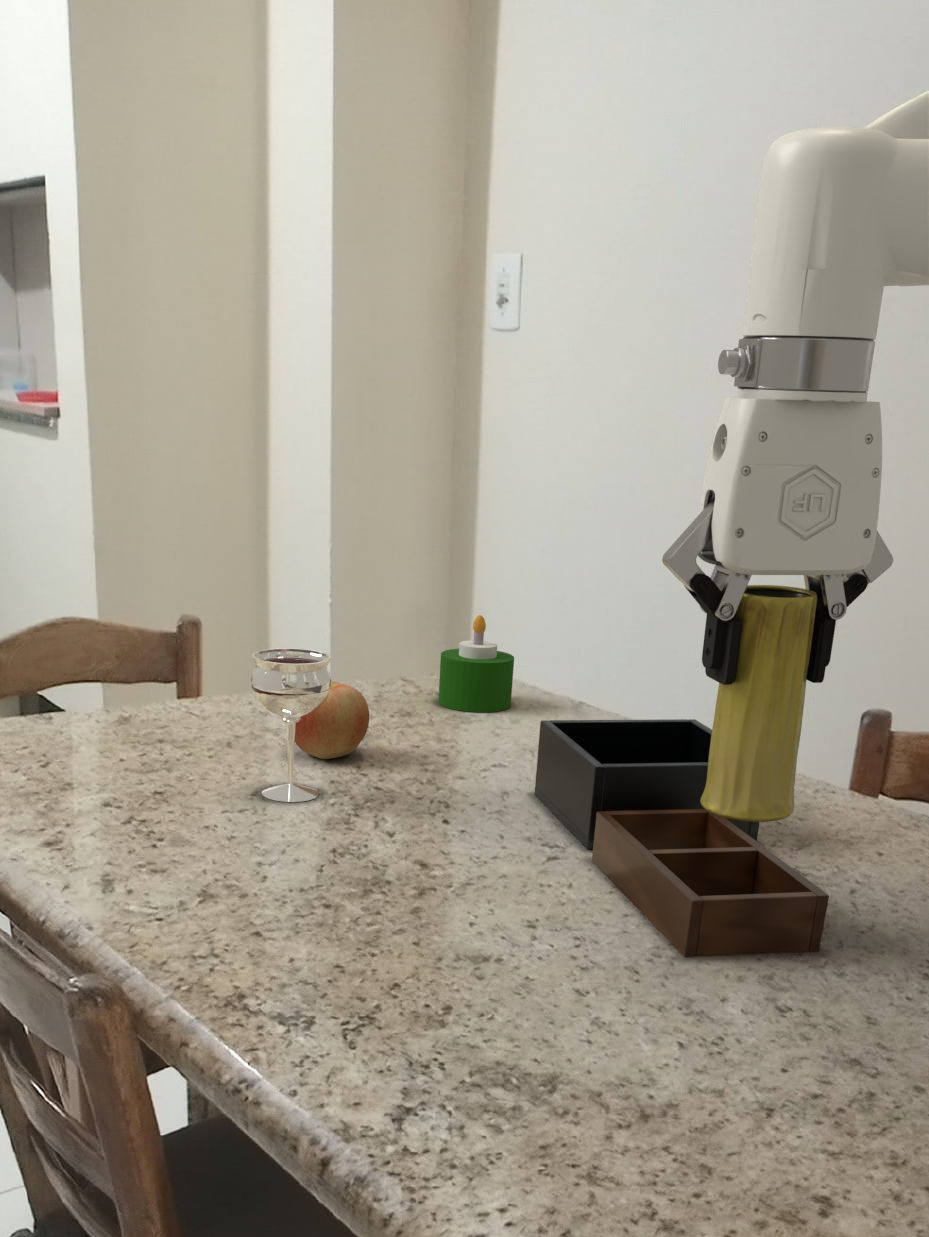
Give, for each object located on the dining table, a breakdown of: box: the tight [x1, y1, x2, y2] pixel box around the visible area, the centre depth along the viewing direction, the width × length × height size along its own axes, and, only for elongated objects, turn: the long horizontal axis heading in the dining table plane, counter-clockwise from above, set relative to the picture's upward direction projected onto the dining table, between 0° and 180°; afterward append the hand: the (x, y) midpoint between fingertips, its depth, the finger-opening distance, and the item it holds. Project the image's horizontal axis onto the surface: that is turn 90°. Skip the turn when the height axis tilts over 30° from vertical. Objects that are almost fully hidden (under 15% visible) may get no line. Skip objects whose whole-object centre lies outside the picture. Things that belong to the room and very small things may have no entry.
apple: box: [295, 681, 370, 760], centre depth 124 cm, size 8×8×8 cm
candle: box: [437, 614, 515, 713], centre depth 146 cm, size 8×8×10 cm
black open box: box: [534, 718, 761, 850], centre depth 110 cm, size 15×15×7 cm
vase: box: [700, 584, 817, 823], centre depth 84 cm, size 6×6×14 cm
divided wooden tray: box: [591, 809, 830, 958], centre depth 93 cm, size 10×18×4 cm, turn 12°
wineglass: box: [250, 647, 332, 803], centre depth 111 cm, size 7×7×12 cm
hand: (763, 676), depth 83 cm, fingers closed on vase, 5 cm apart
